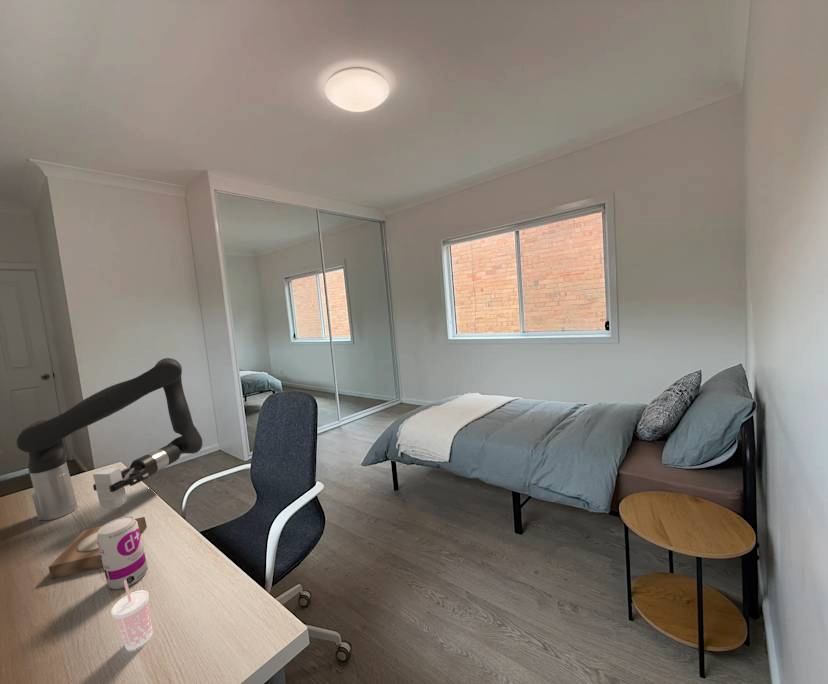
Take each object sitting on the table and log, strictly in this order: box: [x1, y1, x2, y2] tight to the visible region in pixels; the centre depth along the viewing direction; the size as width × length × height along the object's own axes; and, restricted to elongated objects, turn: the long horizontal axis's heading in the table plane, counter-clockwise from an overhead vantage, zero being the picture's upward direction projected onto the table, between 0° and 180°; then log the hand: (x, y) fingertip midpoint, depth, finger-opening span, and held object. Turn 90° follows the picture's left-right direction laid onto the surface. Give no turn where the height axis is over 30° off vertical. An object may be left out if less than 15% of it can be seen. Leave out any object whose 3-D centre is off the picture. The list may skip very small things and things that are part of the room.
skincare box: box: [92, 467, 128, 509], centre depth 122 cm, size 6×4×12 cm
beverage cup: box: [111, 579, 154, 651], centre depth 76 cm, size 6×6×14 cm
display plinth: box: [48, 516, 148, 580], centre depth 107 cm, size 16×16×4 cm
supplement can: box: [97, 515, 149, 590], centre depth 94 cm, size 8×8×15 cm
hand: (102, 488), depth 119 cm, fingers closed on skincare box, 6 cm apart
